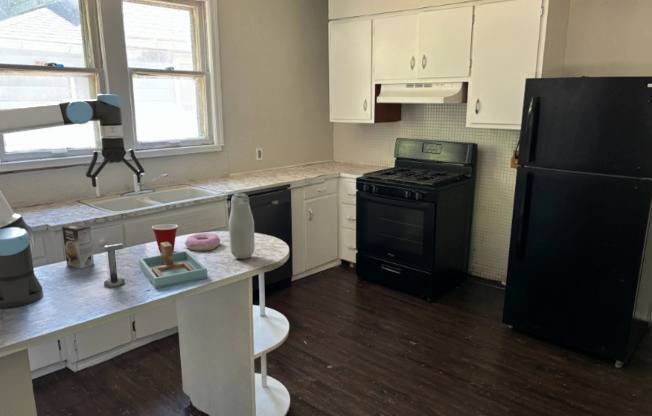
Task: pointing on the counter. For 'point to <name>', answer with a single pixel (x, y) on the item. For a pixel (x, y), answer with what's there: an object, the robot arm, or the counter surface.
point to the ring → (169, 261)
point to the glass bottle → (241, 227)
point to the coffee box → (78, 245)
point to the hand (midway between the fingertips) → (117, 193)
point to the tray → (173, 270)
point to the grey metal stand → (113, 267)
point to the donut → (202, 241)
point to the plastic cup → (165, 234)
